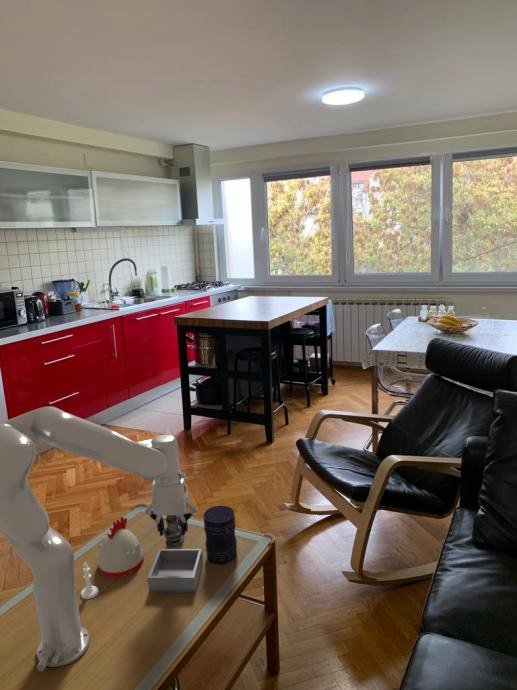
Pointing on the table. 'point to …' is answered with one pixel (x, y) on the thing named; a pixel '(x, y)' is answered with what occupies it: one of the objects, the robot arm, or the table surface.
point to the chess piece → (88, 585)
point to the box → (175, 571)
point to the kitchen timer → (120, 552)
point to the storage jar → (220, 535)
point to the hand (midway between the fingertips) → (173, 532)
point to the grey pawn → (172, 532)
